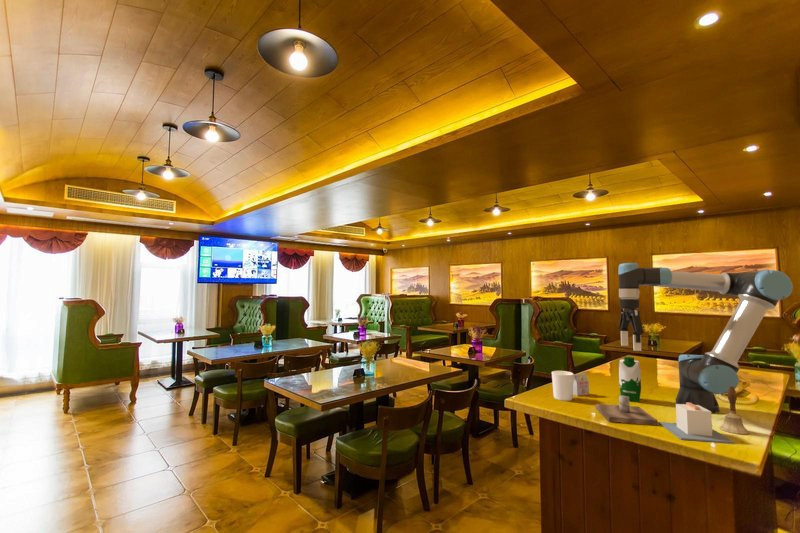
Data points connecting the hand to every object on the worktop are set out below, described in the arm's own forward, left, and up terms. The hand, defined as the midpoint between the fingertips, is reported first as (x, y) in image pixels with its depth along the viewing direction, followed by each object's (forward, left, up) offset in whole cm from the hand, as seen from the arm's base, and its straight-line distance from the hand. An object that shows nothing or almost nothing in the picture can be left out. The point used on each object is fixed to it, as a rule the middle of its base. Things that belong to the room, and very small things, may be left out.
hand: (630, 348), depth 161 cm
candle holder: (+25, -14, -27) cm, 39 cm away
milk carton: (-6, -19, -27) cm, 33 cm away
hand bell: (-28, +16, -27) cm, 42 cm away
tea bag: (+15, -23, -27) cm, 39 cm away
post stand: (+6, +8, -27) cm, 29 cm away
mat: (-12, +22, -27) cm, 37 cm away
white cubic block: (-12, +22, -26) cm, 36 cm away
